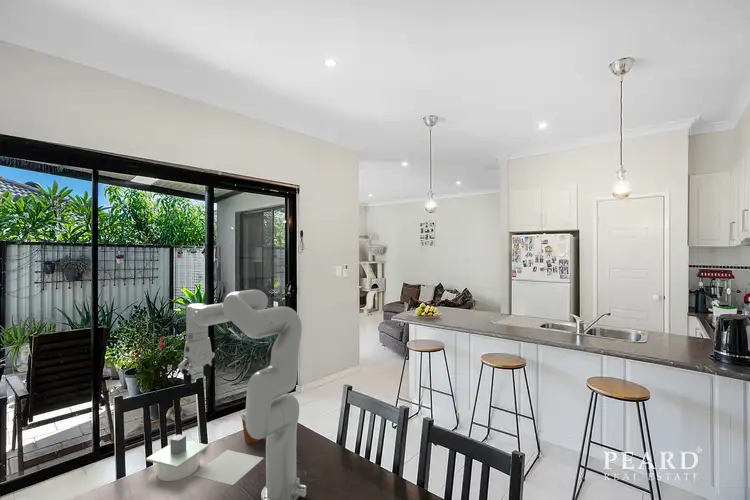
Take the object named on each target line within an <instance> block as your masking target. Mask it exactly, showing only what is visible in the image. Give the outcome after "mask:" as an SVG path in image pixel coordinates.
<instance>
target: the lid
mask: <svg viewBox="0 0 750 500" xmlns="http://www.w3.org/2000/svg"><path fill="white" fill-rule="evenodd" d="M169 443H170V444H168V445H166V446H165V447H163V448H161V449H160V450H158V451H156V452H154V453H152V454H151V455H149V456H148V457H146V458H145V461H147V462H150V463H154V464H156V465H157V464H161V465H165V466H169V467H173V468H179V467H180V466H182V465H183V464H185V463H186V462H188V461H189V460H190V459H192V458H193V457H195V456H196V455H198V454H199V455H200V454H201V453H202V452H203V451H205V450H207V449H208V448H210V445H209V444H206V443H201V442H197V441H192V440H187V436H186V435H183V434H180V433H179V434H176V435H175V436H173V437H171V438H170V441H169Z"/></svg>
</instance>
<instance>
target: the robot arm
mask: <svg viewBox="0 0 750 500" xmlns="http://www.w3.org/2000/svg"><path fill="white" fill-rule="evenodd" d="M268 303H269V299H268V295H266V293H265V292H263V291H262V290H260V289H247V290H240V291H232V292H230V293H229V294H227V295H226V296H225V297H224V299H223V302H220V303H214V304H213V303H212V304H206V303H202V302H201V303H199V302H198V303H191V304H189V305H187V306H186V310H185V311H186V312H185V313H186V314H185V317H186V318H185V321H186V325H185V327H186V329H185V330H186V333H185V334H186V336H184V337H185V340H186V341H185V343H184V349H183V359H182V361H180V363H178V364H177V368H178V370H179V372H180V373H181V374H182V375H183V385H185V386H192V374H191V372H192V370H193V369H198V368H200V367H202V370H203V371H202V372H203V375H202V376H203V377H211V375H212V368H211V367H212V365H213V362H214V360H215V355H216V353H215V352H213V351H212V344H211V338H210V337H209V326H213V325H218V324H223V323H227V322H232V323H233V324H234V325H235V326H236V327H237V328H238V329H239V330H240V331H241V332H242V333H243V334H245V335H246V336H247V337H248V338H251V339H255V340H256V339H258V340H259V339H263V338H266V337H269V336H274V335H277V337H276V339H275V340H274V343H273V344H272V348H271V353H270V362H269V365H268V366H267V367H265V368H262V369H260V370H257V371H256V372H254V373H253V374H252V375H251V376H250V378H249V380H248V382H247V386H246V399H245V400H246V401H245V409H246V414H245V422H246V428H247V431H248V433H249V435H250V436H251V437H252V438H255V439H261V440H262V439H264V438H266V441H265V486H264V487H263V488H262V490H261V493H260V497H261V498H260V499H261V500H298V499H299V497H302V498H305V497H306V495H307V485H305V484H301V483H300V477H297V433H298V432H297V430H298V422H299V416H300V404H299V401H298V399H297V398H296V396H294V395H293V394H291V393H289V392H291V391H293V390H294V389H295V387H296V385H297V381H298V380H297V379H298V368H299V366H298V365H299V353H300V352H299V350H300V345H301V344H300V342H301V339H302V333H303V331H302V330H303V327H302V320H301V318H300V315H299V314H298V313H297V312H296V310H294V309H293V308H291V307H290V306H275V307H274V306H273V307H268V308H267V306H268Z"/></svg>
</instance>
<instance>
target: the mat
mask: <svg viewBox="0 0 750 500" xmlns="http://www.w3.org/2000/svg"><path fill="white" fill-rule="evenodd" d="M263 460H264V457H263V456H257V455H253V454H248V453H243V452H238V451H234V450H230V449H225V451H223V452H221V454H219V455H218V456H217V457H215V458H214V459H213V460H211V461H209V462H208V463H207V464H206V465H204V466H203V467H202V468H200V469H199V470H197V472H196V471H195V472H194V473H193V476H194V477H199V478H202V479H206V480H211V481H213V482H218V483H220V484H226V485H229V486H234V485H235V484H236V483H237V482H239V480H241V479H242V478H243V477H244V476H245V475H246V474H247V473H249V472H250V471H251V470H253V468H254V467H256V466H257V465H258V464H259V463H260V462H261V461H263Z"/></svg>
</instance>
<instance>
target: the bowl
mask: <svg viewBox="0 0 750 500" xmlns="http://www.w3.org/2000/svg"><path fill="white" fill-rule="evenodd" d="M199 466H200V453H199V454H198V455H196V456H195V457H193V458H192V459H190V460H189V461H188V462H186V463H185V464H183V465H182V466H180V467H179V468H173V467H169V466H165V465H161V464H157V463H156V475H157V478H158V480H161V481H165V482H172V481H179V480H182V479H184V478H187V477H189V476H191V475H193V474H195V473H196V471H198V468H199Z"/></svg>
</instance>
